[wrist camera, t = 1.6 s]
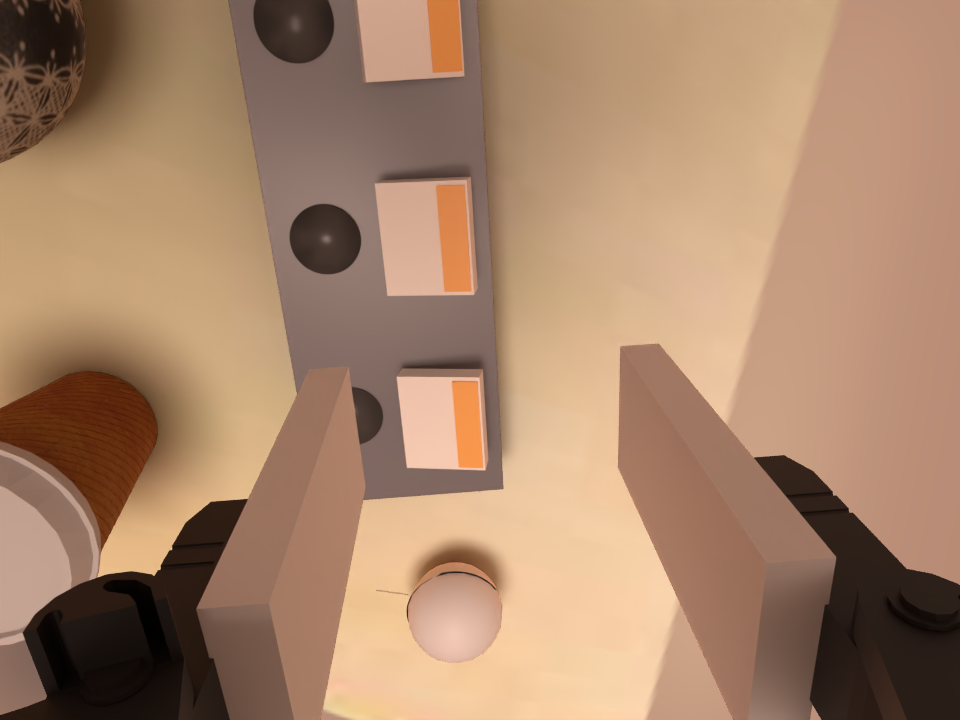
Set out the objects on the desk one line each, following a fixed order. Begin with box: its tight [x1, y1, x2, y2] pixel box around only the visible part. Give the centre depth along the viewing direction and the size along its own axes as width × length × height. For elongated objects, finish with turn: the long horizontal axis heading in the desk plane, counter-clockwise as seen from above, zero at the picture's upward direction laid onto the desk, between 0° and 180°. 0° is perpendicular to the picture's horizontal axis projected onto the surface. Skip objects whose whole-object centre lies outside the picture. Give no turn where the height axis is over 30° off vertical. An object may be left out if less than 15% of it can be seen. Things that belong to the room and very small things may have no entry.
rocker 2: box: [397, 369, 488, 470], centre depth 34 cm, size 5×4×1 cm
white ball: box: [376, 562, 502, 663], centre depth 40 cm, size 8×6×6 cm
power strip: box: [228, 0, 503, 500], centre depth 33 cm, size 28×10×4 cm, turn 3°
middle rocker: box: [375, 177, 478, 296], centre depth 30 cm, size 5×4×1 cm
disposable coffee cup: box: [0, 372, 157, 645], centre depth 33 cm, size 10×10×12 cm
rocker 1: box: [354, 0, 465, 83], centre depth 27 cm, size 5×4×1 cm
